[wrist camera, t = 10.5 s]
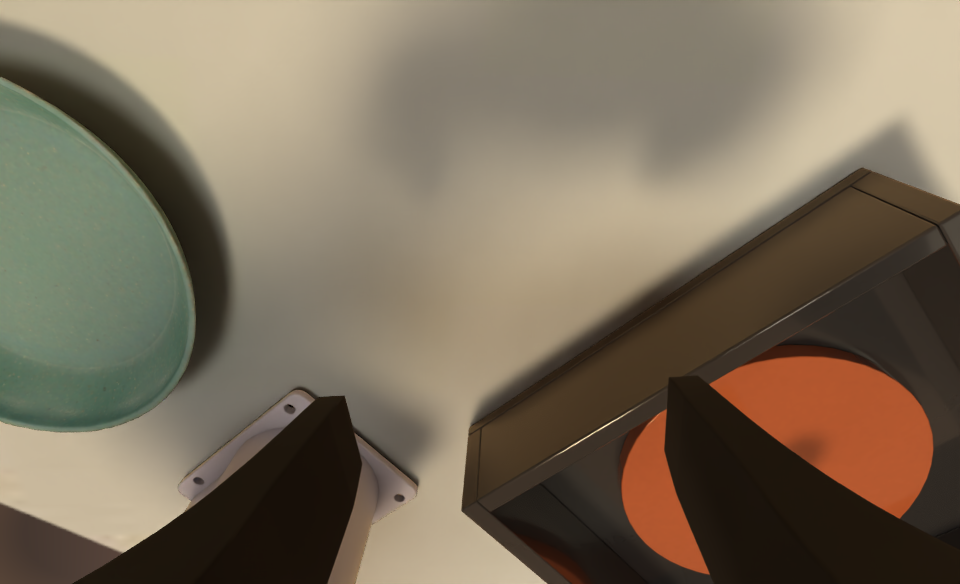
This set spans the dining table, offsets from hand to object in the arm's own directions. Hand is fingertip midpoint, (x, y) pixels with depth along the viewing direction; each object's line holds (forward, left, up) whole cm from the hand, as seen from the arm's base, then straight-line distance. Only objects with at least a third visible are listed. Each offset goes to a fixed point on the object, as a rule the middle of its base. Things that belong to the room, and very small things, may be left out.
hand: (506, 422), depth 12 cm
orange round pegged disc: (+2, -15, -9) cm, 18 cm away
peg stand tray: (+2, -15, -10) cm, 18 cm away
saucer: (-14, +12, -10) cm, 21 cm away
